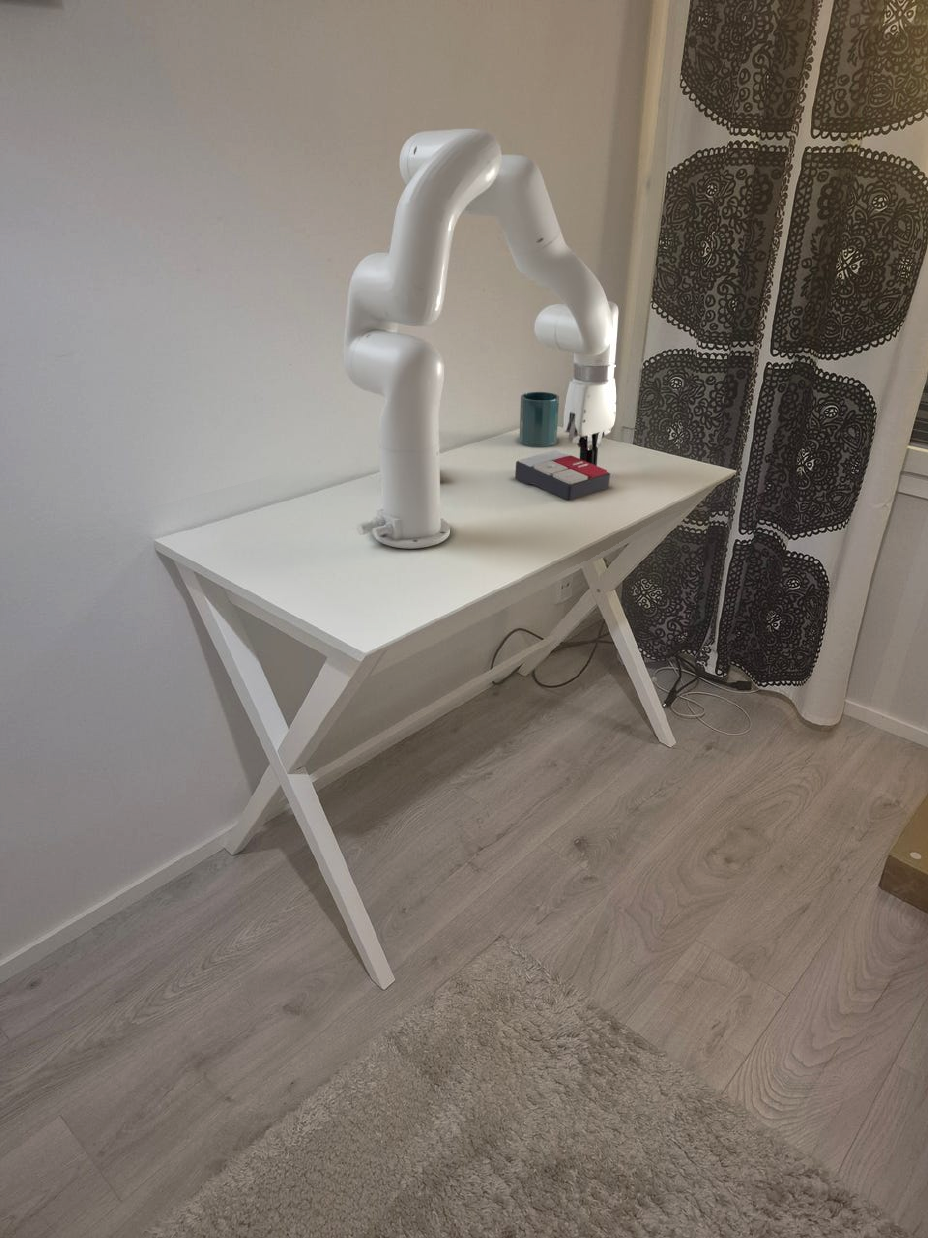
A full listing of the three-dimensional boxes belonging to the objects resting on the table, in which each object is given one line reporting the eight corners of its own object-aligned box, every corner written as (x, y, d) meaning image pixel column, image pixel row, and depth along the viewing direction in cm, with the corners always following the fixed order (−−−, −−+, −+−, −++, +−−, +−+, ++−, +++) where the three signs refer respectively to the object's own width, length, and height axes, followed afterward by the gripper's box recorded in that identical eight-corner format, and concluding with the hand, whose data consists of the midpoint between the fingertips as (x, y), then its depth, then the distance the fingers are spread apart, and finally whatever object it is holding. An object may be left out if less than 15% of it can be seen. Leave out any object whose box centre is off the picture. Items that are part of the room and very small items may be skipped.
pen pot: (537, 449, 174) (539, 403, 169) (512, 440, 180) (513, 395, 175) (564, 442, 178) (566, 396, 174) (538, 433, 184) (540, 389, 179)
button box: (570, 482, 145) (515, 457, 155) (568, 504, 147) (514, 478, 157) (611, 469, 151) (556, 446, 161) (609, 490, 153) (554, 467, 163)
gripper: (606, 362, 155) (600, 454, 165) (550, 375, 147) (547, 470, 157) (636, 369, 150) (627, 463, 159) (579, 382, 142) (574, 481, 151)
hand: (587, 466), depth 158 cm, fingers closed
